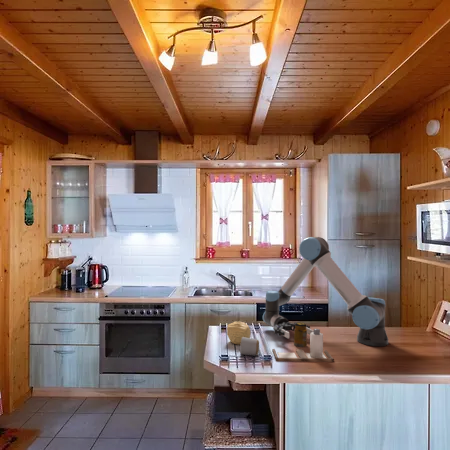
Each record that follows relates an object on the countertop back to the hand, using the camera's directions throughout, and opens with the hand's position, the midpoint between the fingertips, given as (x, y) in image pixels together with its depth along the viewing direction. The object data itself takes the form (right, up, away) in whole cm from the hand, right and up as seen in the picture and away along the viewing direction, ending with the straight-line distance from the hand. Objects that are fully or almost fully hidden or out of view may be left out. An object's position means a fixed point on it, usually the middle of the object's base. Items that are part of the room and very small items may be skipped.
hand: (300, 334), depth 174 cm
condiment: (0, -7, +1) cm, 7 cm away
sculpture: (-30, -7, +8) cm, 32 cm away
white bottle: (+4, -6, -14) cm, 15 cm away
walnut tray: (-3, -7, -14) cm, 16 cm away
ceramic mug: (-26, -7, -8) cm, 28 cm away
